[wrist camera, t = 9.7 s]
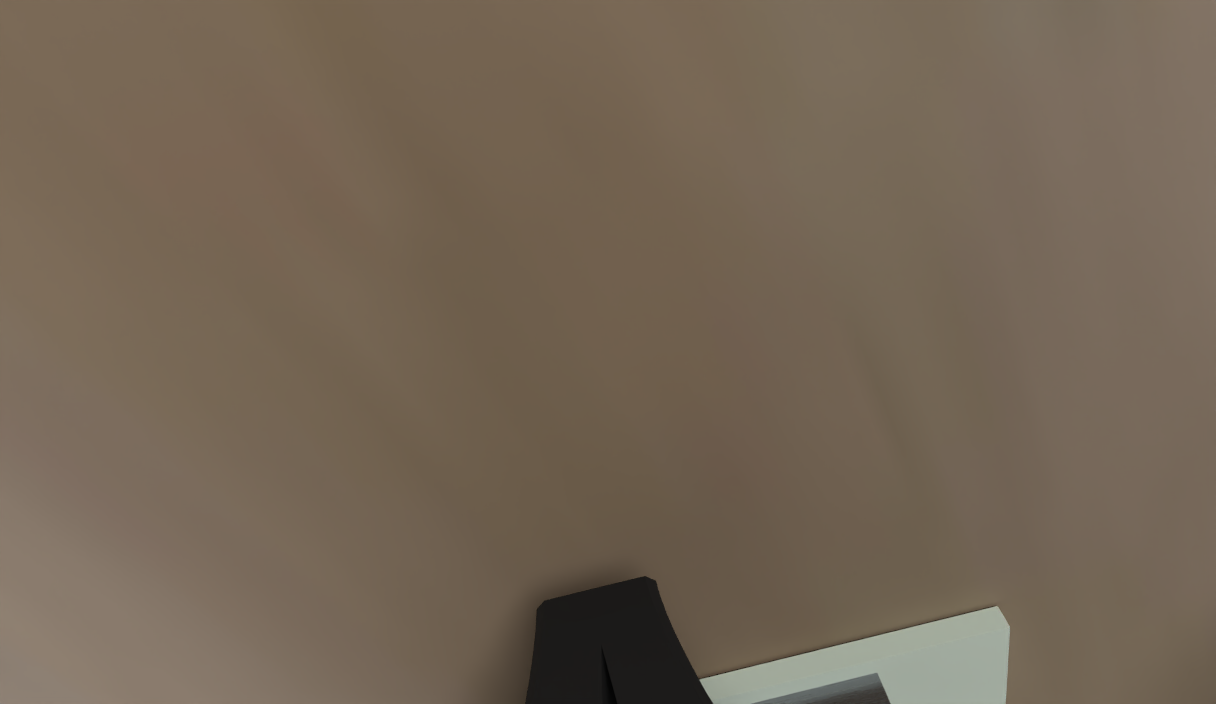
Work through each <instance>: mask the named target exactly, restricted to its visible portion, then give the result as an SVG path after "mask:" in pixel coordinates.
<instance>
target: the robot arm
mask: <svg viewBox="0 0 1216 704" xmlns="http://www.w3.org/2000/svg"><path fill="white" fill-rule="evenodd" d="M525 704H713V702H712V701H711V699H710V698H709V696H708V694H707V693H706V691H705V689H704V687H703V686H702V684H701V682H700V680H699V679H698V677H697V675H696V673H695V671H694V669H693V668H692V666H691V664H690V662H689V660H688V658H687V656H686V654H685V652H684V650H683V648H682V646H681V644H680V642H679V640H678V638H677V636H676V634H675V632H674V630H673V627H672V625H671V623H670V620H669V618H668V616H667V613H666V611H665V608H664V605H663V603H662V600H661V597H660V594H659V591H658V587H657V583H656V581H655V580H653V579H650V578H648V577H646V576H644V577H640V578H635V579H631V580H627V581H623V582H619V583H615V584H611V585H607V586H603V587H599V588H595V589H590V590H586V591H582V592H578V593H574V594H570V595H566V596H562V597H558V598H554V599H550V600H545V601H544V602H543V603H542V604H541V605H540V606H539V608H538V609H537V616H536V633H535V642H534V651H533V659H532V667H531V673H530V680H529V685H528V691H527V697H526V702H525Z"/></svg>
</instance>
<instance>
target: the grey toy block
mask: <svg viewBox="0 0 1216 704" xmlns="http://www.w3.org/2000/svg"><path fill="white" fill-rule="evenodd" d="M752 704H891V703H890V701H889V699H888V696H887V694H886V692H885V689H884V687H883V685H882V682H881V680H880V678H879V676H878V673H873V674H869V675H865V676H861V677H857V678H853V679H849V680H845V681H841V682H837V683H833V684H829V685H825V686H821V687H817V688H813V689H809V690H805V691H800V692H796V693H792V694H788V695H784V696H780V697H776V698H772V699H768V700H764V701H760V702H756V703H752Z"/></svg>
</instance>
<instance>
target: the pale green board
mask: <svg viewBox="0 0 1216 704" xmlns="http://www.w3.org/2000/svg"><path fill="white" fill-rule="evenodd" d="M1009 635H1010V626H1009V625H1008V623H1007V621H1006V620H1005V618H1004V616H1003V615H1002V613H1001V611H1000V610H999V608H998V606H995V607H991V608H987V609H983V610H979V611H975V612H971V613H967V614H963V615H959V616H955V617H951V618H947V619H942V620H938V621H934V622H930V623H926V624H922V625H918V626H914V627H910V628H906V629H902V630H898V631H894V632H890V633H886V634H882V635H878V636H874V637H870V638H865V639H861V640H857V641H853V642H849V643H845V644H841V645H837V646H833V647H829V648H825V649H821V650H817V651H813V652H809V653H805V654H801V655H797V656H793V657H789V658H784V659H780V660H776V661H772V662H768V663H764V664H760V665H756V666H752V667H748V668H744V669H740V670H736V671H732V672H728V673H724V674H720V675H716V676H712V677H707V678H703V679H699V680H700V682H701V684H702V686H703V687H704V689H705V691H706V693H707V694H708V696H709V698H710V699H711V701H712V702H713V704H752V703H756V702H760V701H764V700H768V699H772V698H776V697H780V696H784V695H788V694H792V693H796V692H800V691H805V690H809V689H813V688H817V687H821V686H825V685H829V684H833V683H837V682H841V681H845V680H849V679H853V678H857V677H861V676H865V675H869V674H873V673H878V676H879V678H880V680H881V682H882V685H883V687H884V689H885V692H886V694H887V696H888V699H889V701H890V703H891V704H1006V688H1007V670H1008V652H1009Z"/></svg>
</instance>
